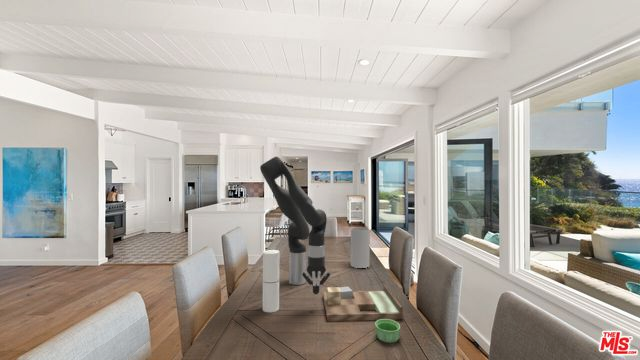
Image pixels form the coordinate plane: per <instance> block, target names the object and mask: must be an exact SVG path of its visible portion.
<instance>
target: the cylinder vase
mask: <svg viewBox="0 0 640 360" xmlns="http://www.w3.org/2000/svg"><path fill="white" fill-rule="evenodd" d="M370 230H371V229H370V228H368V227H362V226H361V227H357V226H356V227H351V228H350V267H352V268H353V267H354V268H353V269H357V268H366V269H368V268H369V267H370V258H371V257H370V253H371V252H370V251H371V250H370V243H371V242H370V241H371V238H370V233H371V231H370ZM367 267H368V268H367Z"/></svg>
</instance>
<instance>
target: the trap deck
mask: <svg viewBox="0 0 640 360" xmlns="http://www.w3.org/2000/svg"><path fill="white" fill-rule="evenodd" d="M322 298H323V304H324V305H323V306H324V308H325V309H324V310H325V316H326V321H327V322H343V321H344V322H345V321H346V322H347V321H349V322H350V321H351V322H352V321H377V320H379V319H390V320H394V321H396V320H397V319H403V314H404V313H403V309H404V308H403V306H402V305H401V303H400V302H399V301H398V300H397V298H396V297H395V296H394V294H393V293H392V292H391V291H390V289H389V288H388V287H387V285H383V290H353V299H341V305H328V300H327V290H326V291H325V290H324V291H322ZM361 311H375V312H361ZM403 320H404V319H403Z"/></svg>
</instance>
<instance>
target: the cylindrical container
mask: <svg viewBox="0 0 640 360" xmlns="http://www.w3.org/2000/svg"><path fill="white" fill-rule="evenodd" d="M279 309H280V250H278V249H269V250H264V251H263V253H262V311H263V312H264V313H274V312H277V311H279Z"/></svg>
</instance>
